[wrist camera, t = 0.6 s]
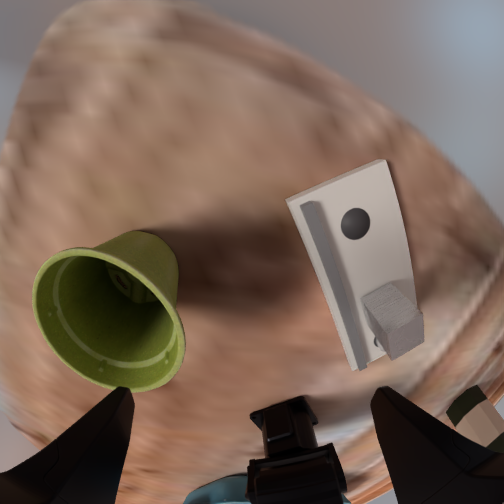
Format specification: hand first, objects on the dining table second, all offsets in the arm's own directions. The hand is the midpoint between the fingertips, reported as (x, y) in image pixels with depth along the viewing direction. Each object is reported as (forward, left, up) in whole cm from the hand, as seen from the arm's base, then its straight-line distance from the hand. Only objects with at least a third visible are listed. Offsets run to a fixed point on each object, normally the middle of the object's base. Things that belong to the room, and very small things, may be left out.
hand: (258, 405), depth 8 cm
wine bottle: (-44, -24, -13) cm, 52 cm away
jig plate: (-6, -9, -13) cm, 17 cm away
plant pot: (+3, +7, -14) cm, 16 cm away
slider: (-8, -9, -12) cm, 17 cm away
